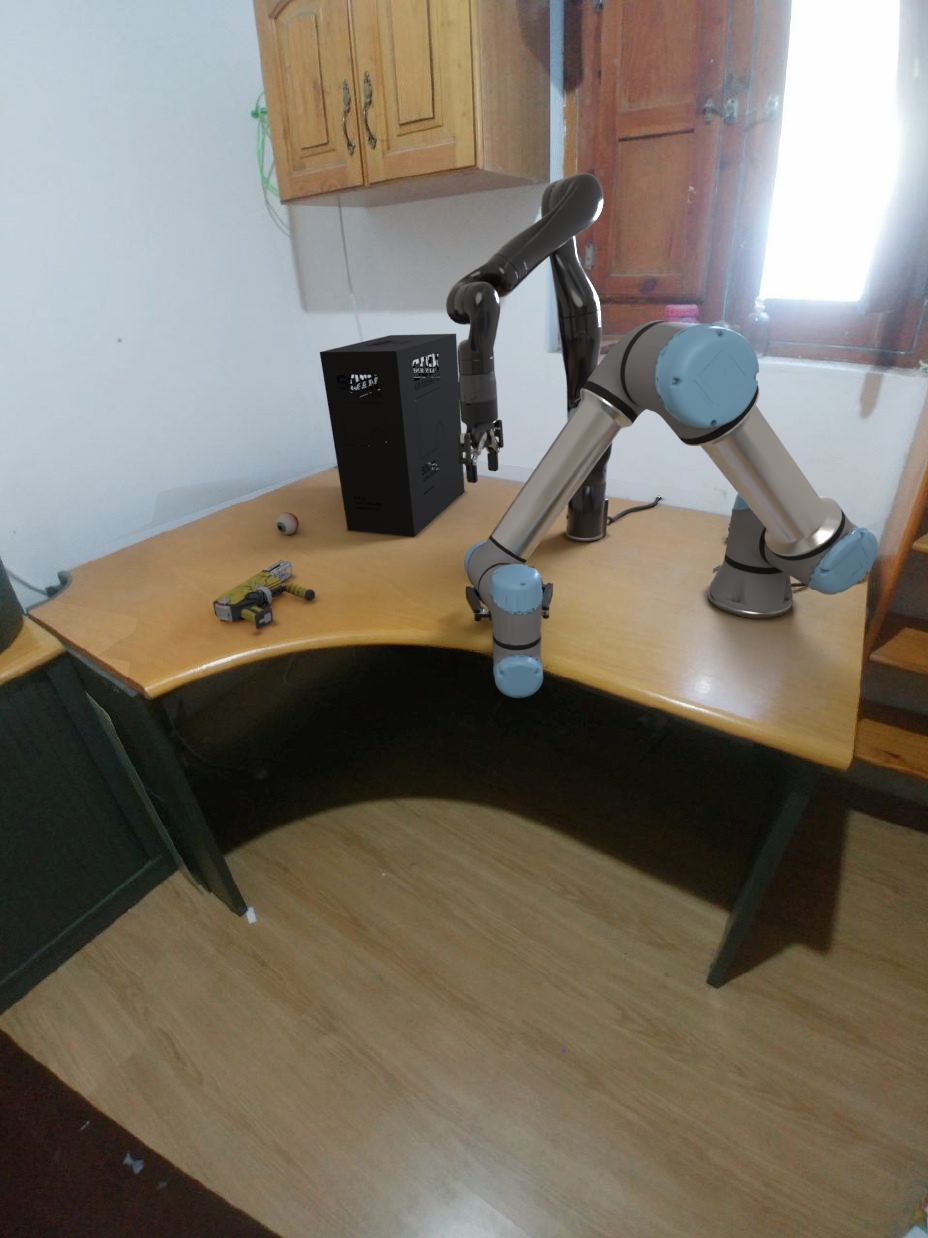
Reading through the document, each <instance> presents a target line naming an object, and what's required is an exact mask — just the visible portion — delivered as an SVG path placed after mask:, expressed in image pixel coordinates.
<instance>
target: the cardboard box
mask: <svg viewBox="0 0 928 1238" xmlns="http://www.w3.org/2000/svg"><path fill="white" fill-rule="evenodd" d="M457 341H458V340H457V333H429V334H427V333H424V334H423V333H421V334H389V335H386V336H381V337H377V338H373V339H368V340H364V341H360V342H355V343H351V344H348V345H344V346H340V347H335V348H331V349H326V350H323V351H319V358H320V364H321V370H322V376H323V382H324V388H325V396H326V401H327V407H328V414H329V421H330V426H331V432H332V433H331V434H332V440H333V446H334V451H335V452H334V453H335V458H336V459H335V460H336V465H337V471H338V478H339V484H340V490H341V496H342V501H343V503H342V504H343V509H344V515H345V522H346V529H347V530H348V531H356V532H365V533H377V534H384V535H385V534H387V535H396V536H406V537H416V536H417V535H418V534H419V533H421V532H422V531H423V530H424V529H425V528H426V527H427V526H428V525H429V524H430V523H431V522H433V520H435V519H436V518H437V517H438V516H439V515H440V514H442V513H443V512H444V510H446V509H447V508H448V507H449V506H450V505H451V504H452V503H454V502H455V501H456V500H457V499H458V498H459V497H460V496H462V494H463V493H465V475H464V474H465V473H464V464H459V463H458V448H457V434H458V433H461V434H462V421H461V411H460V397H459V367H458V343H457ZM433 356H434V357H433ZM422 358H423V361H422ZM416 360H418V363H417V361H416ZM434 362H435V365H434ZM421 364H422V365H421ZM352 376H353V377H352ZM356 376H357V378H356ZM361 376H362V377H361ZM369 376H370V377H369ZM362 378H363V379H362Z"/></svg>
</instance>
